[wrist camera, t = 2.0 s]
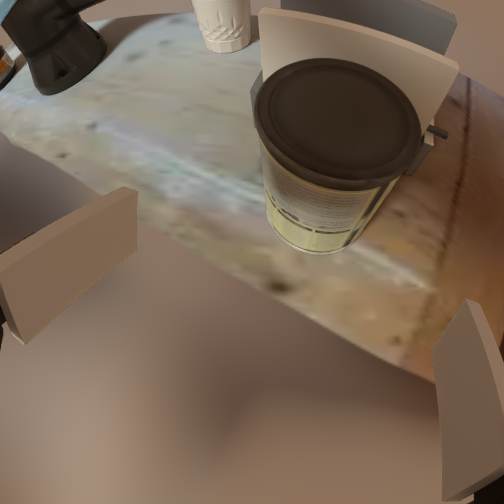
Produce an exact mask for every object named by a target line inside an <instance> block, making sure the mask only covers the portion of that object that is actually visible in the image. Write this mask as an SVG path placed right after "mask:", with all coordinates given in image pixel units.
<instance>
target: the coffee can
mask: <svg viewBox="0 0 504 504" xmlns="http://www.w3.org/2000/svg"><path fill="white" fill-rule="evenodd" d="M254 118H255V124H256V128H257V131H258V134H259V143H260V151H261V160H262V169H263V179H264V188H265V197H266V213H267V217H268V220H269V223H270V225H271V227H272V228H273V230H274V231H275V233H276V234H277V235H278V237H279V238H280V239H281V240H282V241H284V242H285V243H286V244H288V245H289V246H291V247H292V248H294V249H296V250H298V251H301V252H304V253H308V254H315V255H325V254H332V253H336V252H339V251H341V250H344V249H345V248H347V247H349V246H350V245H352V244H353V243H354V242H355V241H356V240H357V239H358V237H359V236H360V235H361V233H362V231H363V230H364V228H365V226H366V225H367V224H368V222H369V221H370V219H371V218H372V217H373V215H374V214H375V212H376V211H377V209H378V208H379V206H380V205H381V204H382V202H383V201H384V200H385V198H386V197H387V195H388V194H389V193H390V191H391V189H392V188H393V186H394V185H395V183H396V182H397V180H398V179H399V177H400V176H401V174H403V173H404V172H405V171H406V170H407V169H408V167H409V166H410V165H411V164H412V162H413V161H414V159H415V158H416V156H417V154H418V152H419V149H420V145H421V139H422V130H421V125H420V121H419V118H418V115H417V113H416V110H415V108H414V107H413V105H412V103H411V102H410V100H409V98H408V97H407V96H406V95H405V94H404V92H403V91H402V90H401V89H400V88H398V86H396V85H395V84H394V83H393V82H392V81H390V80H389V79H388V78H386V77H385V76H383V75H381V74H380V73H378V72H376V71H374V70H372V69H370V68H368V67H366V66H364V65H361V64H358V63H355V62H351V61H347V60H342V59H334V58H312V59H305V60H301V61H297V62H294V63H291V64H289V65H286V66H284V67H282V68H280V69H279V70H277V71H275V72H274V73H273V74H272V75H270V76H269V77H268V78H267V79H266V80H265V81H264V83H263V84H262V85H261V87H260V89H259V91H258V93H257V95H256V99H255V103H254Z"/></svg>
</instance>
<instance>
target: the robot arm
mask: <svg viewBox="0 0 504 504" xmlns="http://www.w3.org/2000/svg"><path fill="white" fill-rule="evenodd" d="M103 1H105V0H0V25H1V26H2V27H3V29H4V30H5V31H6V33H7V34H8V35H9V37H10V38H11V39H12V41H13V42H14V43H15V45H16V46H17V47H18V49H19V50H20V51H21V53H22V54H23V55H24V56H25V58H26V59H27V61H28V65H29V68H30V72H31V75H32V79H33V82H34V85H35V87H36V88H37V89H38V91H39V92H40V93H41V94H42V95H53V94H56V93H59V92H61V91H63V90H65V89H67V88H69V87H70V86H72V85H73V84H75V83H76V82H78V81H79V80H81V79H82V78H83V77H84V76H86V75H87V74H88V73H89V72H90V71H91V70H92V69H93V68H94V67H95V66H96V65H97V64H98V63H99V62H100V60H101V59H102V58H103V56H104V54H105V52H106V49H107V45H106V43H105V41H104V39H103V37H102V36H101V35H100V34H99V33H98V32H97V31H96V30H94V29H93V28H92V27H91V26H89V25H88V24H87V23H85V22H84V21H83V20H82V19H81V17H80V15H79V14H78V13H79V12H80V11H83V10H85V9H87V8H89V7H91V6H93V5H96V4H98V3H101V2H103ZM137 195H138V191H136V190H132V189H129V188H126V187H122V188H120V189H117V190H115V191H113V192H111V193H109V194H107V195H105V196H103V197H101V198H99V199H97V200H95V201H93V202H91V203H89V204H87V205H85V206H83V207H81V208H80V209H77V210H76V211H74V212H72V213H70V214H68V215H66V216H64V217H63V218H61V219H59V220H57V221H56V222H53V223H52V224H50V225H48V226H47V227H45V228H43V229H41V230H40V231H38V232H36V233H33V234H31V235H29V236H28V237H26V238H24V239H23V240H22V241H19V242H18V243H16V244H15V245H14V246H13V247H12V246H11V247H10V248H8V249H7V250H5V251H3V252H2V253H0V349H1V343H2V338H3V328H2V324H3V323H5V321H7V324H8V326H9V329H10V331H11V333H12V335H13V336H14V337H16V338H17V339H18V340H19V341H20V342H21V343H23V344H24V345H26V344H27V343H28V342H29V341H30V340H31V339H32V338H34V337H35V336H36V335H37V334H38V333H39V332H40V331H41V330H42V329H43V328H44V327H46V326H47V325H48V324H49V323H50V322H51V321H52V320H53V319H54V318H56V317H57V316H58V315H59V314H60V313H61V312H62V311H64V310H65V309H66V308H67V307H68V306H69V305H71V304H72V303H73V302H74V301H75V300H76V299H77V298H79V297H80V296H81V295H82V294H83V293H85V292H86V291H87V290H88V289H89V288H91V287H92V286H93V285H94V284H95V283H97V282H98V281H99V280H100V279H101V278H103V277H104V276H105V275H106V274H107V273H109V272H110V271H111V270H113V269H114V268H115V267H116V266H117V265H119V264H120V263H121V262H122V261H124V260H125V259H126V258H128V257H129V256H130V255H131V254H133V253H134V252H135V251H136V250H137ZM430 351H431V356H432V362H433V369H434V375H435V382H436V389H437V398H438V407H439V418H440V431H441V445H442V446H441V448H442V501H460V500H462V499H464V498H466V497H468V496H470V495H472V494H473V493H474V500H473V501H472V502H470V503H468V504H504V363H503V360H502V357H501V355H500V352H499V349H498V346H497V344H496V341H495V339H494V336H493V334H492V331H491V329H490V326H489V324H488V322H487V319H486V317H485V315H484V312H483V310H482V308H481V306H480V304H479V303H476V302H474V301H471V300H468V299H465V300H464V302H463V303H462V305H461V306H460V308H459V310H458V311H457V313H456V314H455V316H454V317H453V319H452V320H451V322H450V323H449V325H448V326H447V328H446V329H445V331H444V332H443V334H442V335H441V336H440V338H439V339H438V341H437V342H436V344H435V345H434V346H433V348H432V349H431V350H430Z"/></svg>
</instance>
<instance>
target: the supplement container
mask: <svg viewBox="0 0 504 504" xmlns="http://www.w3.org/2000/svg"><path fill="white" fill-rule="evenodd" d="M15 70H16V63H15V62H14V61H13V60H12V59H11V58H10V56H9V55H8V54H7V52H6V51H5V50H4V49H3V46H2V45H0V90H1V89H2V88H3V87H4V86H5V85H6V84H7V83H8V81H9V80H10V79H11V78H12V76H13V75H14V73H15Z"/></svg>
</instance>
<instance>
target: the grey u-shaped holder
mask: <svg viewBox="0 0 504 504" xmlns="http://www.w3.org/2000/svg"><path fill="white" fill-rule="evenodd" d="M281 9H284V10H291V11H297V12H303V13H309V14H314V15H319V16H324V17H329V18H333V19H337V20H342V21H346V22H349V23H353V24H357V25H361V26H364V27H368V28H371V29H374V30H377V31H381V32H384V33H387V34H390V35H393V36H395V37H398V38H401V39H404V40H407V41H409V42H412V43H414V44H417V45H419V46H422V47H424V48H427V49H429V50H431V51H434V52H436V53H438V54H441V55H443V56H444V54H445V52H446V49H447V47H448V45H449V43H450V40H451V38H452V36H453V34H454V31H455V29H456V27H457V22H456V18H455V15H454V14H452V13H449V12H447V11H445V10H442V9H440V8H438V7H436V6H433V5H431V4H429V3H426V2H424V1H421V0H281ZM262 84H263V72H262V71H261V72H260V74H259V76H258V78H257V79H256V81H255V83H254V85H253V86H252V88H251V90H250V93H251V101H252V110H253V118H254V103H255V99H256V95H257V93H258V91H259V89H260V87H261V85H262ZM430 125H433V126H434V118H433V119H432V121H431V123H430ZM254 126H255V128H256V124H255V118H254ZM432 146H434V134H432V133H430V132H428V131H425V133H424V134H423V136H422V139H421V145H420V149H419V152H418V154H417V156H416V158H415V159H414V161H413V162H412V164H411V165H410V166H409V167H408V169H407V170H406V171H405V174H407V175H409V176H412V174H413V173H414V171H415V170H416V169H417V167H418V166H419V164H420V163H421V162H422V160H423V159H424V157H425V156H426V155H427V153H428V152H429V150H430V149H431V147H432Z"/></svg>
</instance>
